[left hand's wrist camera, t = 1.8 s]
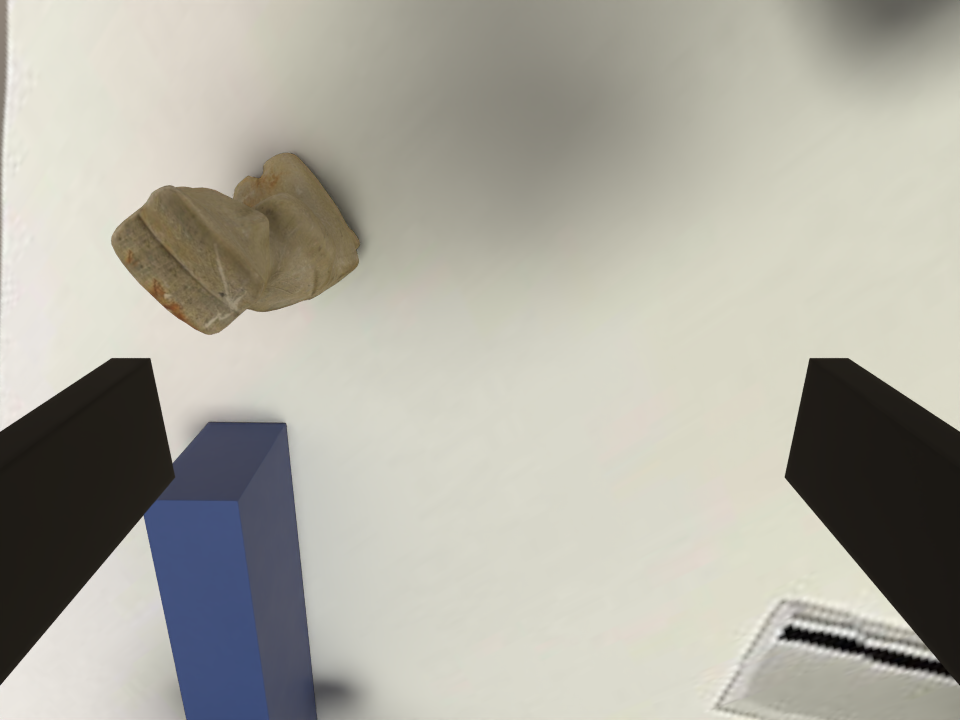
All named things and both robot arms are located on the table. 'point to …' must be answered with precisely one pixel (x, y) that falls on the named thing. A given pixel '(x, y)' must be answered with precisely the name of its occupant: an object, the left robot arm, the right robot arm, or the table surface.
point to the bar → (234, 576)
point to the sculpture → (238, 245)
